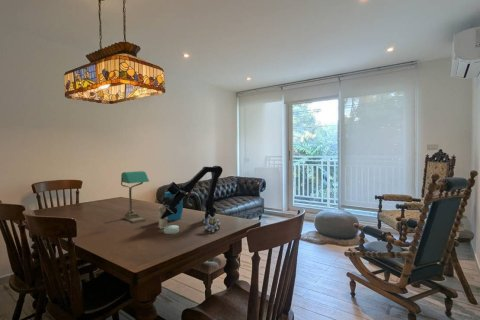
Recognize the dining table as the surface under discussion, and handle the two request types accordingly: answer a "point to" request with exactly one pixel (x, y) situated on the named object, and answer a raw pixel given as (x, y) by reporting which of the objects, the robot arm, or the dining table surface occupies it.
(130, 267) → the dining table surface
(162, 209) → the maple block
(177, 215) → the block
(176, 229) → the plinth
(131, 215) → the banker's lamp
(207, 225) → the passion flower
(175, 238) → the dining table surface
